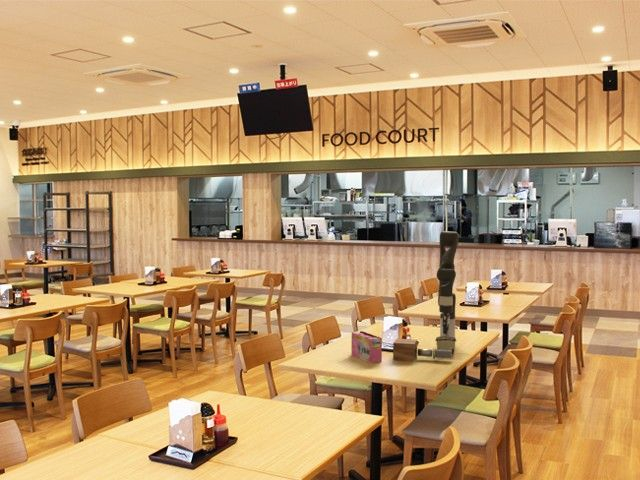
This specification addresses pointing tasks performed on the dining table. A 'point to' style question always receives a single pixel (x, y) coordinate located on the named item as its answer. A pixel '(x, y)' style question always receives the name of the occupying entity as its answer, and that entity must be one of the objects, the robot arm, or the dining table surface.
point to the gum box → (367, 347)
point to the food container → (446, 343)
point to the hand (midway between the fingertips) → (445, 332)
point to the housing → (405, 350)
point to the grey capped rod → (435, 353)
